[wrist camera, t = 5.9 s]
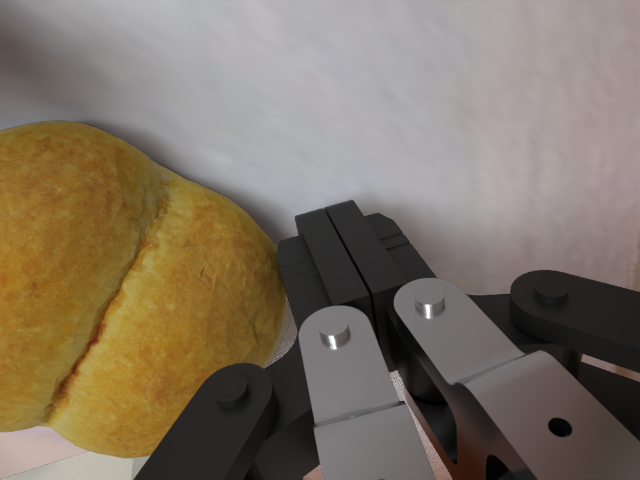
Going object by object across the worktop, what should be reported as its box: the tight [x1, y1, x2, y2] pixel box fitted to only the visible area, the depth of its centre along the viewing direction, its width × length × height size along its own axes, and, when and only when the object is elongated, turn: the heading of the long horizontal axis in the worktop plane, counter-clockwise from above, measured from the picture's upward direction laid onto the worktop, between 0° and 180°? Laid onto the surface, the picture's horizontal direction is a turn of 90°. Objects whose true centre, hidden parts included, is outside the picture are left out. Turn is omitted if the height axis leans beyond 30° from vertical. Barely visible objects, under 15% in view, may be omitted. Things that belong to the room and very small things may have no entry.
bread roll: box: [0, 121, 291, 458], centre depth 11 cm, size 8×9×4 cm
